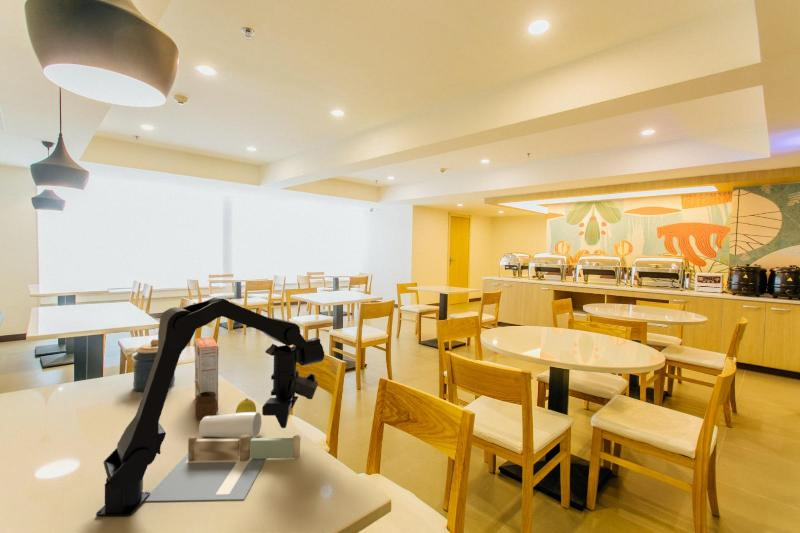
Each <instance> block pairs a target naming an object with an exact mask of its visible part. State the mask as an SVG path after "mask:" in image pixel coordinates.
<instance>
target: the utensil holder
mask: <svg viewBox="0 0 800 533" xmlns="http://www.w3.org/2000/svg"><path fill="white" fill-rule="evenodd" d="M211 381H212V380H211ZM211 381H210V382H211ZM215 381H216V380H215ZM212 382H213V381H212ZM216 383H217V382H216ZM209 384H210V383H209ZM195 385H196V389H197V391H198V393H199V394H198V395H197V401H195V406H194V407H195V409H194V411H195V412H194V413H195V414H194V415H195V419H196V420H197V421H201V420H202V418H203V417H205V416H214V415H217V414H218V409H217V400H216V398H215V397H216V393H215V392H212V391H208V392H202V393H200V388H199V385H198V382H197V381H195V380H194V386H195ZM213 385H214V384H213ZM216 385H217V384H216ZM211 386H212V385H211ZM214 387H215V386H214ZM208 388H209V387H208ZM213 391H214V390H213Z"/></svg>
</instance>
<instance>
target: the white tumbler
mask: <svg viewBox="0 0 800 533" xmlns="http://www.w3.org/2000/svg"><path fill="white" fill-rule="evenodd" d="M262 421H263V420H262V413H260V412H259V411H256V412H241V413H236V412H235V413H233V412H232V413H227V414H226V413H225V414H224V413H223V414H218V415H217V414H216V415H214V416H205V417H203V418H202V420H200V422H199V425H198V433H199V436H200V437H203V438H221V439H240V436H242V435H244V434H249V435H250V439H252V438H258V436H259V434H260V433H261V428H262Z"/></svg>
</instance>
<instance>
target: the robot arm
mask: <svg viewBox="0 0 800 533" xmlns="http://www.w3.org/2000/svg"><path fill="white" fill-rule="evenodd" d="M220 317H223V318H226V319H229V320H231V321H234V322H235V323H236V322H237V323H239V324H241V325H244V326H247V327H250V328H253V329H255V330H258V331H260V332H261V333H262V334H264V335H265V336H267V337H269V338H270V339H272V340H273V341H276V342H279V343H280V344H283V345H276V344H274V343H272V344H271V345H270V346H269V347H268V348H267V349H266V350H265V354H268V355H270V356H273V370H272V371H273V373H272V374H271V375H270V380H271V381H272V383H273V384H272V390H271V391H270V396H275V397H270V398H268V399H267V400H266V401H265V403H264V404H263V405H262V408H261V409H262V410H261V411H262V413H261V416H265V417H266V416H268V417H269V416H272V417H273V416H275V418H276V420H277V422H278V423H279V424H278V425H279V426H280V428H281V429H286V428H287V424H288V420H289V417H290V413H291V411H292V409H293V408H294V406H295V404H296V402H297V401H298V398H299V396H300V397H305V398H306V399H307V400H313V398H314V395H315V393H316V390H317V389H318V385H319V381H318V380H317V377H316V374H313V373H308V374H307V376H301V375H300V371H299V369H297V363H298V365H299V366H303V367H304V366H309V365H312V364H316V363H322V362H323V361H324V359H325V350H324V346H323V344H322V343H321V339H320V338H318V337H312V338H309V339H305V337H304V336H303V335H302V334H301V328H300V326H299V325H298V324H296V323H294V322H292V321H288V320H286V319H285V320H284V319H280V318H274V317H269V316H265V315H263V314H260V313H257V312H255V311H252V310H251V309H247V308H246V307H242V306H240V305H238V304H235V303H232V302H230V300H228V299H226V298H223V297H220V296H215V297H212V298H210V299H207V300H204V301H201V302H196V303H193V304H189V305H186V306H184V307H180V306H179V307H177V306H176V307H175V306H174V307H170V308H169V309H166V310H165V311H163V313H161V316H160V319H159V324H158V332H157V334H158V335H157V340H158V351H157V354H156V356H155V359H154V362H153V365H152V368H151V371H150V374H149V377H148V380H147V383H146V386H145V389H144V392H142V396H141V399H140V401H139V405H138V408H137V411H136V413H135V415H134V417H133V419H132V420H131V421H130V422H129V423H128V425H127V427H125V430H124V431H123V433H122V435H121V437H120V439H119V441H118V442H117V445H116V446H117V447H116V448H115V449H114V450H113V451H112V452H111V453H110V455H108V457H107V458H105V459H104V460H103V466H104V469H105V473H106V479H105V483H104V505H102V507H101V508H100V509H99V510H98V511H97V512H96V513H95V514H96V515H95V516H96V517H122V516H123V517H128V516H132V515H133V514H134V513H135V511H137V510H138V508H139V507H140V506H141V505H142V504H143V503H145V502H144V501H145V500H146V499H147V497H148V496H149V495H150V493H151V491H143V489H144V475H145V474H146V471H147V469H148V466H149V465H152V463H153V462H154V461H155V458H156V457H157V454H158V455H160V454H161V453H162V452H161V446H162V444H163V441H164V439H165V437H166V435H167V433H166V431H165V430H164V428H163V426H162V424H161V423H160V418H161V416H162V411H163V409H164V406H165V403H166V399H167V397H168V393H169V390H170V388H171V386H170V385H171V382H172V379H173V375H174V372H176V369H177V366H178V364H179V360H180V356H181V354H182V353H183V351H184V350H185V349H186V348H187V346H188V344H190V342H191V341H192V339H193V337H194V335H195V333H196V330H197V329H200V328H202V327H204V326H206V325H208V324H210V323H212V322H213V321H215V320H217V319H218V318H220ZM295 395H297V396H295Z"/></svg>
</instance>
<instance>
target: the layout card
mask: <svg viewBox="0 0 800 533" xmlns="http://www.w3.org/2000/svg"><path fill="white" fill-rule="evenodd" d="M266 459H267V458H262V459H249V460H247V461H240V457H239V459H238V460H203V461H188V453H186V454H185V455H184V457H183V458H182V459H180V461H179V462H178V463H177V464H176V465H175V466H174V467H173V469H171V470H170V472H168V474H167V475H165V477H164V478H162V480H161V481H160V482H159V484H157V485H156V487H155V488H154V489H153V490H152V491H150V495H149V496H148V497H147V499H146V500H145V501H144V502H143V503H148V502H150V503H151V502H152V503H153V502H154V503H155V502H156V503H157V502H199V501H200V502H204V501H207V502H208V501H213V502H214V501H215V502H216V501H245V499H246V497H247V495H248V493H249V492H250V490H251V488H252V486H253V484H254V482H255V480H256V478H257V476H258V474H259V473H260V471H261V469H262V467H263V465H264V463H265V461H266Z"/></svg>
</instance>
